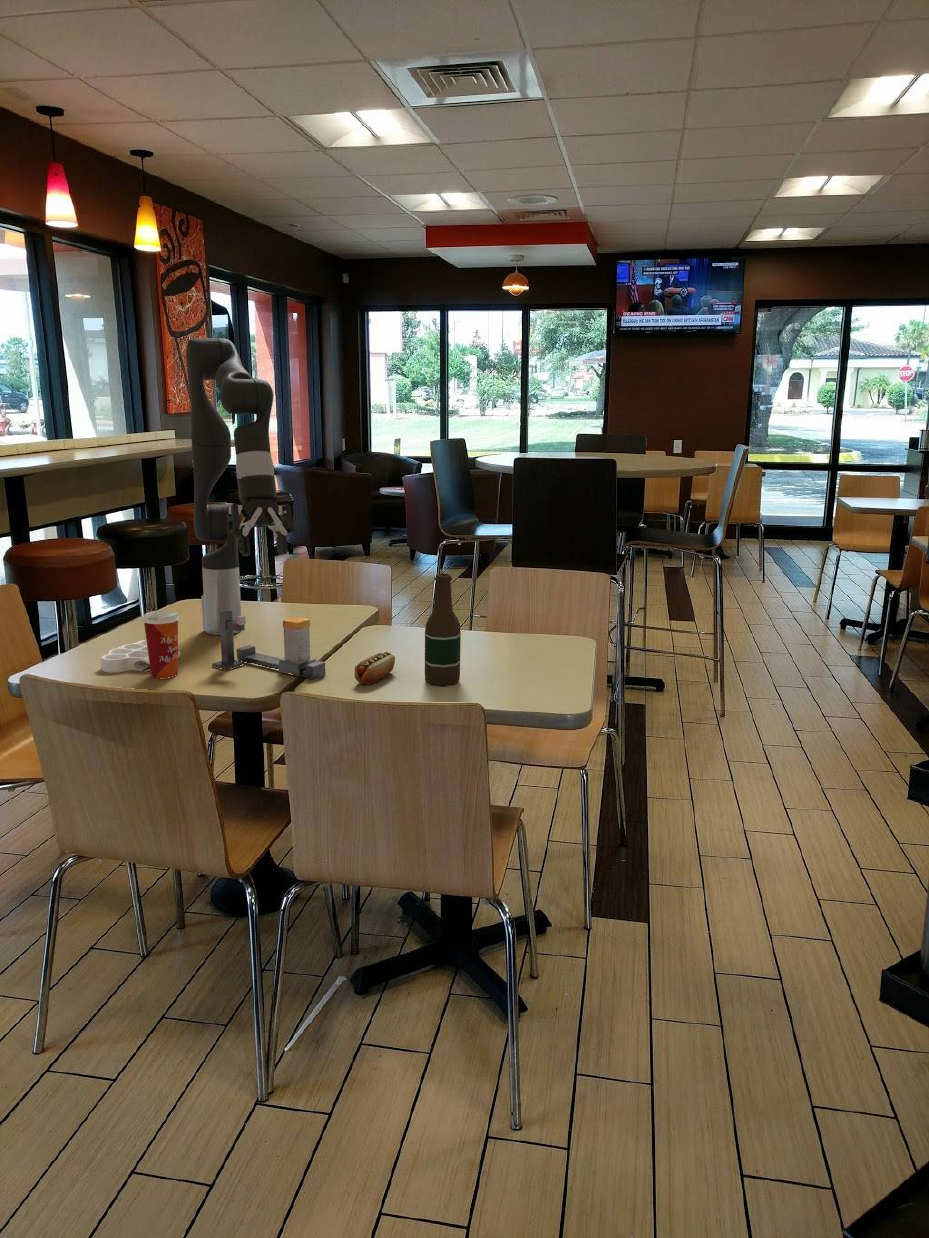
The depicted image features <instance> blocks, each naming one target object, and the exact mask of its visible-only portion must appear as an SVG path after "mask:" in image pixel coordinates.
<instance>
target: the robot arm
mask: <svg viewBox="0 0 929 1238" xmlns="http://www.w3.org/2000/svg"><path fill="white" fill-rule="evenodd" d="M185 359H186V369H187V370H186V371H187V380H188V389H189V398H190V400H189V401H190V418H191V419H190V426H191V429H190V431H191V432H190V435H191V438H190V439H191V454H192V455H191V457H192V467H193V481H194V482H193V483H194V484H193V485H194V487H193V489H194V490H193V529H194V534H195V538H197V539H198V540H199V541H200V542H202V541H203V542H216V541H217V542H219V541H222V542H223V541H225V543H224V544H223V545H222V546H221V547H220V548H218V549H216V550H214V551H212V552H209V553H206V554H204V555H203V556H202V558H201V568H202V571H201V572H202V586H203V587H202V589H203V594H202V595H201V596H200V598H201V615H202V618H201V619H202V631H204V632H205V633H206V634H208V635H214V636H221V635H220V614H219V611H223V610H230V611H232V617H233V621H237V617H238V616H242V608H241V607H242V605H241V604H242V603H241V601H242V600H241V584H240V583H241V582H240V581H241V579H240V560H239V559H240V558H239V553H240V554H241V556H243V557H248V556H251V552H252V551H251V545H250V536H248V535H249V533H250V531H251V529H252V528H253V527H257V526H259V527H268V529H269V530H271V531H272V532H273V533H274V535H275V536H276V538H275V542H276V551H277V555H278V556H283V555H286V554H287V551H288V549H289V548H288V547H289V546H288V539H287V536H288V535H289V534H291V533H294V532H295V527H294V520H293V514H292V508H291V505H290V503H286V504H283V505H278V504H277V503H278V502H277V496H278V495H277V487H276V476H275V468H274V461H273V457H272V451H271V442H270V431H269V430H270V423H271V422H270V421H271V414H272V408H273V403H274V391H273V388H272V386H271V384H270V383H269V382H268V381H267V380H265V379H262V378H261V379H259V378H253V377H252V376H251V374H250V373H249V372H248V371H247V370H246V369H245V368H244V366H243V364H242V363H243V362H242V361H241V360H242V359H241V357H240V355H239V352H238V351H237V348H236V346H235V344H234V343H233V342H232V341H231V340H229V339H227V338H222V337H207V338H205V337H204V338H203V337H202V338H190V339H188V341H187V343H186V351H185ZM206 380H207V381H209V380H215V384H216V386H217V389H219V391H220V403H221V406H222V408H223V410H224V411H225V412H227V413H229V414H233V415H255V416H256V417H255V418H256V419H255V421H253V422H250V423H246V424H245V423H244V424H241V425H237V426H236V428H234V431H233V441H234V451H235V452H234V453H235V469H236V470H235V473H236V480H237V489H238V497H239V500H240V504H238V503H232V504H231V503H230V504H228V503H226V504H225V503H222V504H221V503H220V504H219V503H218V504H217V503H216V504H214V503H213V504H208V501H209V499H210V494H211V492H212V491H213V489H214V487H215V485H216V483H217V482H218V480H219V479H220V477H222V475H223V474H224V472H225V471H226V469H227V468H228V465H229V464H230V461H231V459H232V439H231V438H232V437H231V436H232V435H231V430H230V429H229V426H228V425H227V423H226V422H225V419H223V417H222V416H221V414H220V413H219V411H218V410H217V409H216V407H215V406H214V405H213V403H212V401H211V400H210V398H209V396H208V394H207V391H206V389H205V383H204V382H205V381H206ZM240 514H242V516H243V519H242V521H241V522H240ZM278 515H279V516H280V517H278ZM240 632H241V631H235V630H233V635H234V634H238V633H240Z"/></svg>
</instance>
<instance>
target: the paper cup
mask: <svg viewBox="0 0 929 1238" xmlns="http://www.w3.org/2000/svg"><path fill="white" fill-rule="evenodd" d="M179 620H180V617H179V616H178V612H177V611H175V610H174V611H173V610H153V611H147V612H146V613H144V616H143V619H142V623H144V632H145V638H146V639H145V640H147V648H148V656H149V663H150V666H149V669H150V675H151V678H153V679H156V678H159V679H158V680H161V679H160V678H167V679H169V678H168V677H172V676H175V675H177V674H179V673H178V672H179V657H178V650H179ZM177 676H178V675H177ZM175 677H176V676H175ZM172 678H173V677H172Z"/></svg>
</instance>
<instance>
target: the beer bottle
mask: <svg viewBox="0 0 929 1238" xmlns="http://www.w3.org/2000/svg"><path fill="white" fill-rule="evenodd" d="M452 580H453V577H452V575H451V574H449V573H438V574H436V575H435V576H434V581H435V587H434V588H435V589H434V590H435V591H434V592H435V593H434V604H433V609H432V612H431V614H430V615H429V617H428V618H427V620H426V623H425V629H424V681H425V682H426V683H428V685H430V686H434V687H440V688H441V687H449V686H456V685H457V684H458V683H459V681H460V678H461V638H462V637H461V624H460V621H459V618H458V617H457V615H456V613H455V612H454V608H453V600H452V598H453V597H452Z"/></svg>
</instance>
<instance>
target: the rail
mask: <svg viewBox="0 0 929 1238" xmlns="http://www.w3.org/2000/svg"><path fill="white" fill-rule="evenodd" d="M280 659H281V658H280V657H275V656H272V655H268V654H267V655H266V654H263V653H259V652H256V646H254V645H250V644H248V645H245V646H241V647H238V648H236V660H238V661H242V662H247V663H254V664H258V665H262V666H265V667H269V668H275V669H279V661H280ZM247 663H246V664H247ZM300 674H301V676H299V677H301V678H305V679H309V680H313V681H314V680H316V679H319V678H322V677H324V676H326V662H324V661H319V660H316V662H314V663H311V664H308V665H306V668H304V669H301V670H300Z"/></svg>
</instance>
